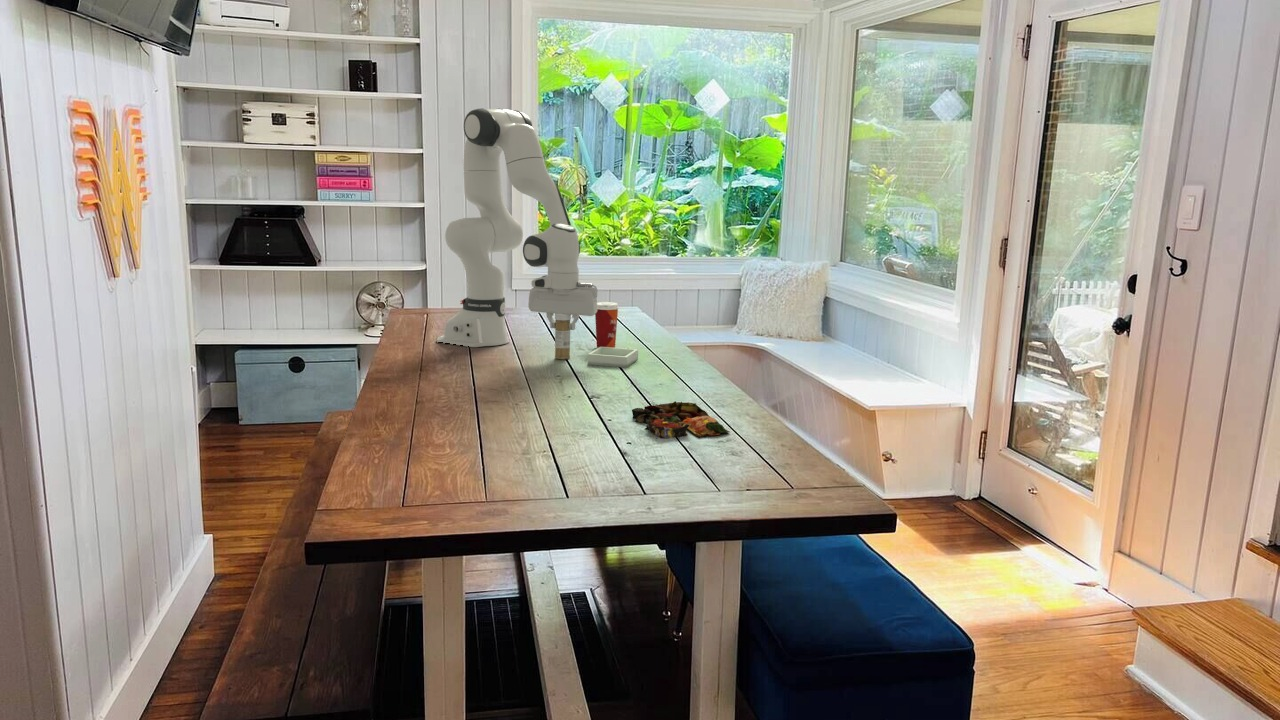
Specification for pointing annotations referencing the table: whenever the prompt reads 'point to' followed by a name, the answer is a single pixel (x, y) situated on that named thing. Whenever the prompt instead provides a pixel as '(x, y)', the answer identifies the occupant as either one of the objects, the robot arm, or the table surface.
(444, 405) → the table surface
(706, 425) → the food
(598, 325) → the paper cup
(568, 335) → the sprinkles bottle
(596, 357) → the tray
